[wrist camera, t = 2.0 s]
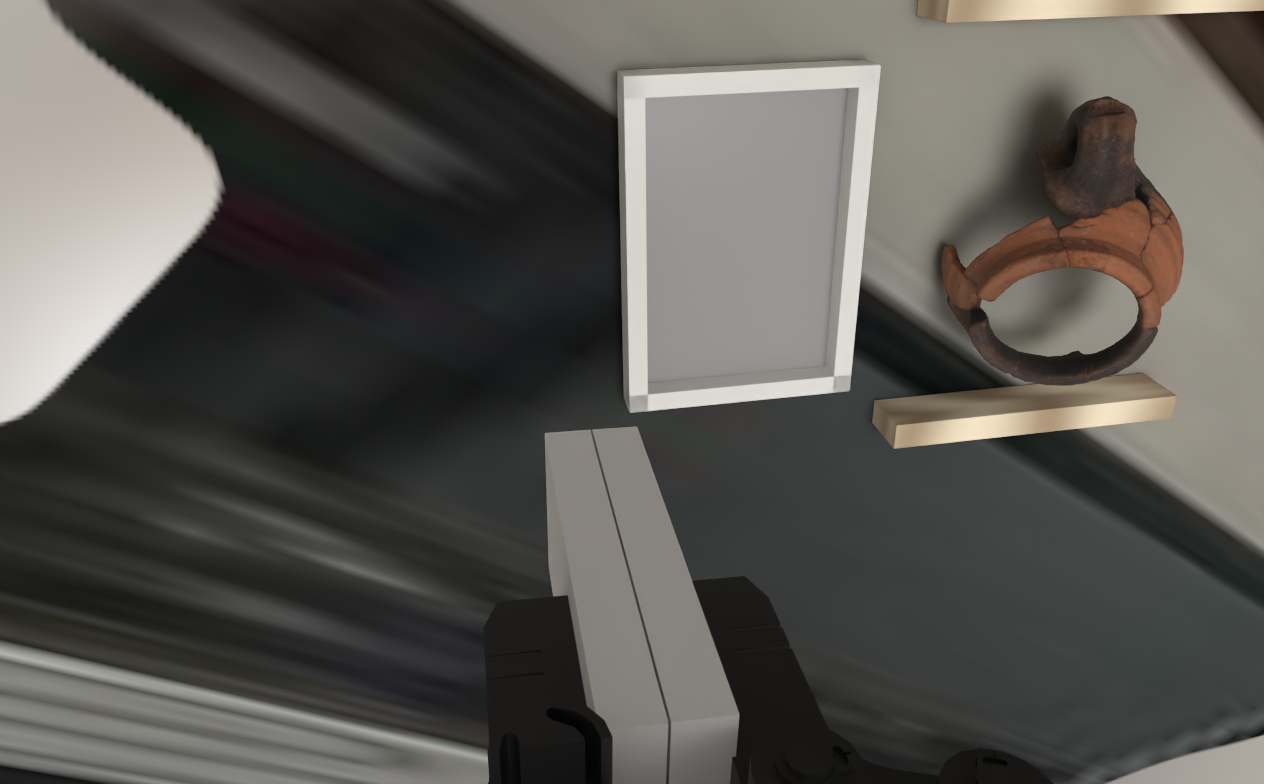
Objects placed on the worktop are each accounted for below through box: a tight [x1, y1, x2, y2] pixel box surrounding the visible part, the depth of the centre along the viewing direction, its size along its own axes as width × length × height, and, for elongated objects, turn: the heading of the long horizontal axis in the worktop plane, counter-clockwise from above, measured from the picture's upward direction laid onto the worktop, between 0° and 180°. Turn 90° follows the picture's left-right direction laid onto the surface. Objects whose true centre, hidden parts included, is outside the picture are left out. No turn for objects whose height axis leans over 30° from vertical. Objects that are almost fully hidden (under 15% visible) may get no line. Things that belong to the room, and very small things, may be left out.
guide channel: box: [872, 0, 1264, 449], centre depth 42 cm, size 14×19×2 cm
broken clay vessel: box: [941, 96, 1184, 386], centre depth 41 cm, size 12×10×8 cm
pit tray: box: [617, 59, 881, 413], centre depth 41 cm, size 10×14×2 cm
